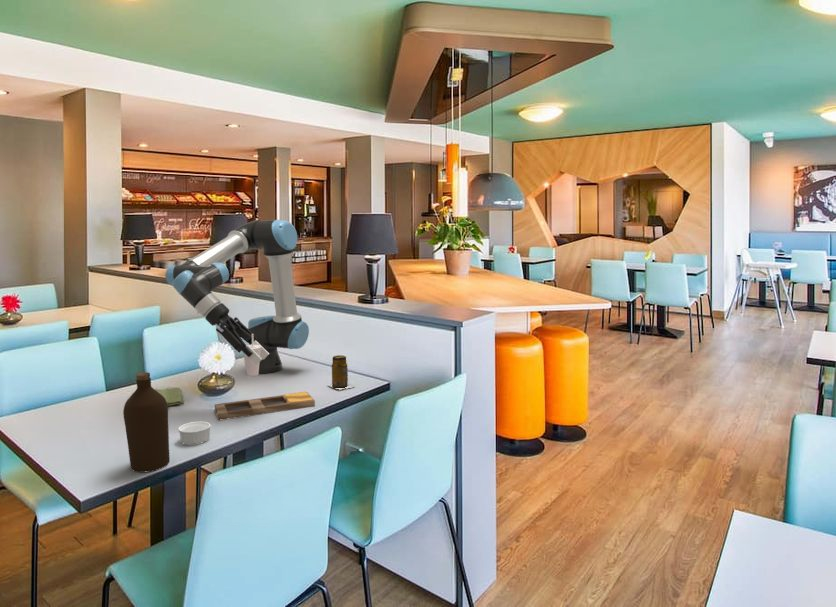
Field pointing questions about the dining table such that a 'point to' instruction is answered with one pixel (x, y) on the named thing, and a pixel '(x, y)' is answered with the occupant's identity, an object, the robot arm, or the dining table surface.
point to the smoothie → (250, 366)
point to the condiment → (339, 372)
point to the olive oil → (147, 427)
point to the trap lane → (264, 405)
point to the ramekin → (194, 432)
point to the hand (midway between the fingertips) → (262, 359)
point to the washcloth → (172, 396)
